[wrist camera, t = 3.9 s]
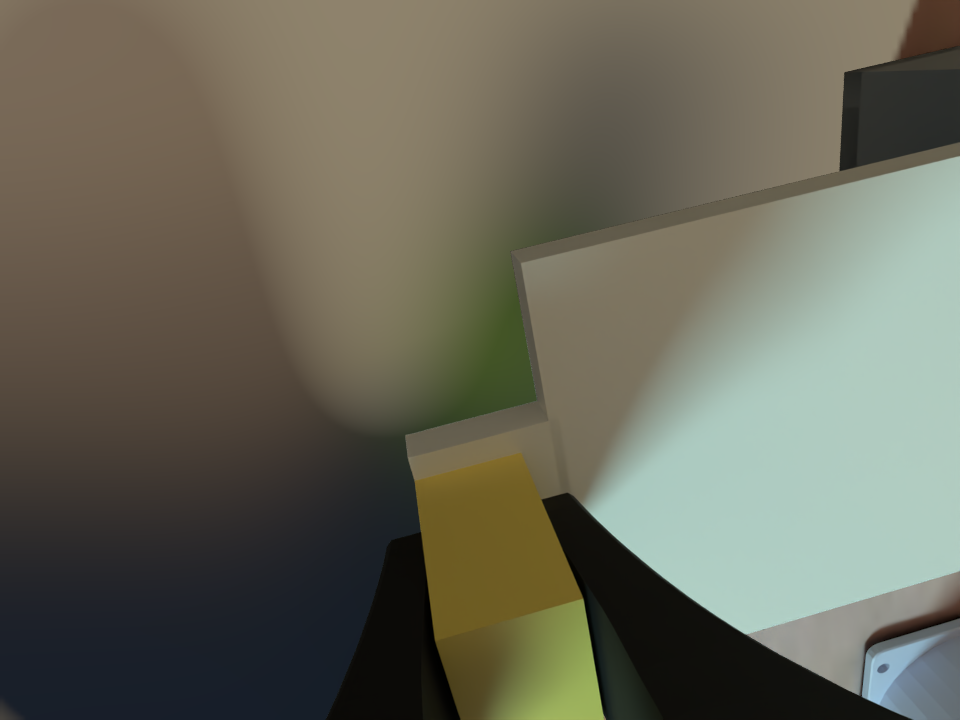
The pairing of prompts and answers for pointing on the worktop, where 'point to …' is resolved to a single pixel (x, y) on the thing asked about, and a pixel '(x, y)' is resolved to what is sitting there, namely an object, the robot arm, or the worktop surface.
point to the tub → (900, 108)
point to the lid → (709, 425)
